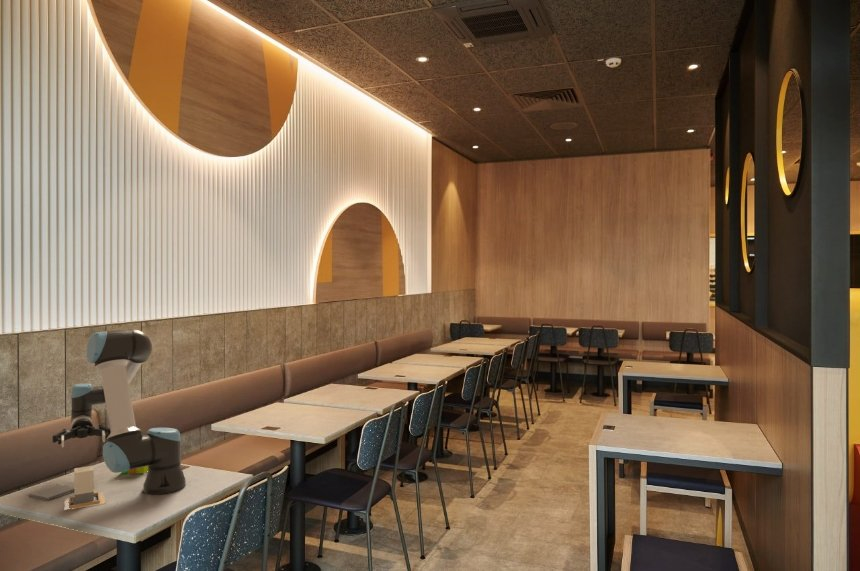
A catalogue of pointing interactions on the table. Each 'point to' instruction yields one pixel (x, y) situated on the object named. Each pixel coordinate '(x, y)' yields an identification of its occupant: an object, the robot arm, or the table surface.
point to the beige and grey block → (84, 484)
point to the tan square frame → (87, 504)
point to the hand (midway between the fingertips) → (83, 441)
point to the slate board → (52, 492)
